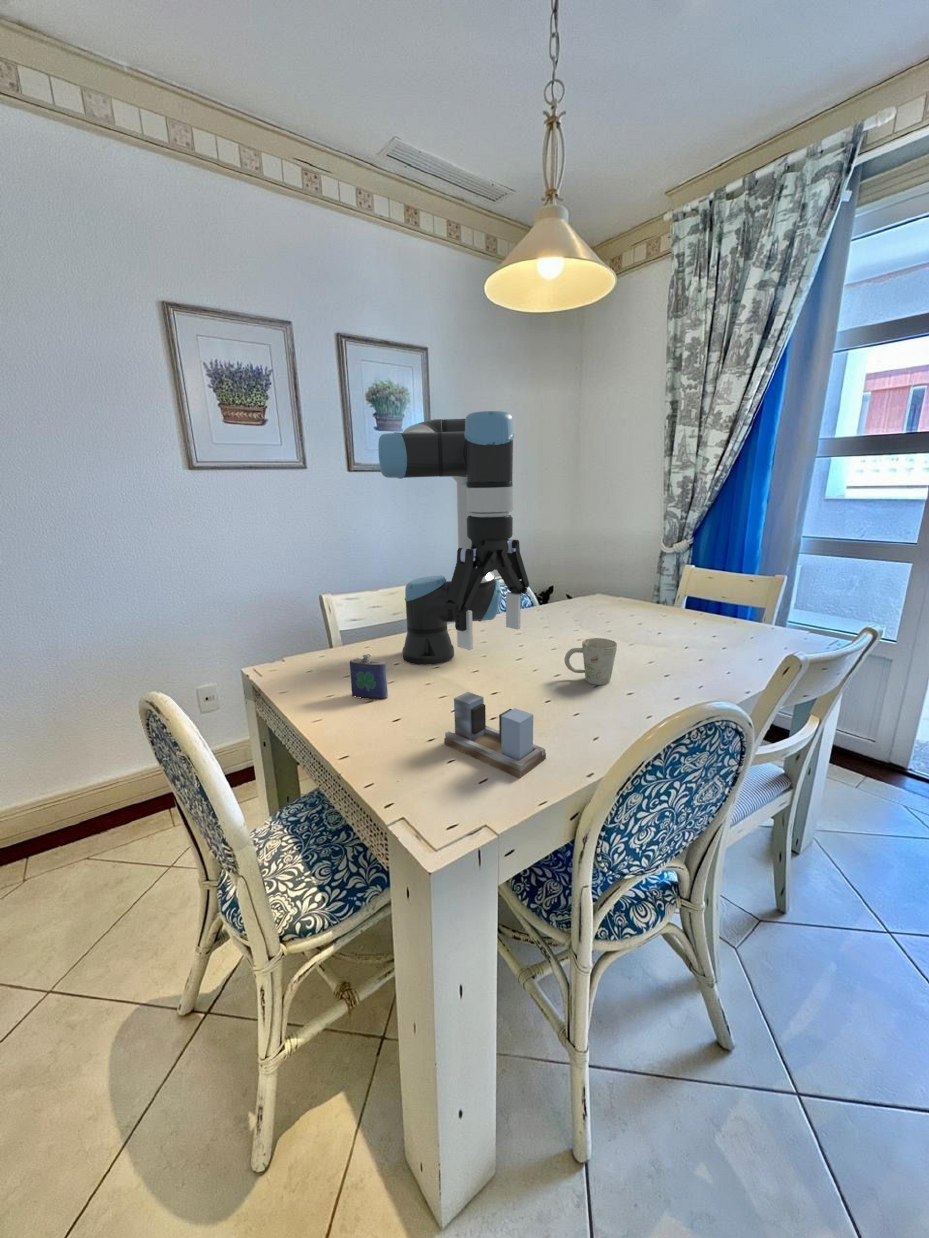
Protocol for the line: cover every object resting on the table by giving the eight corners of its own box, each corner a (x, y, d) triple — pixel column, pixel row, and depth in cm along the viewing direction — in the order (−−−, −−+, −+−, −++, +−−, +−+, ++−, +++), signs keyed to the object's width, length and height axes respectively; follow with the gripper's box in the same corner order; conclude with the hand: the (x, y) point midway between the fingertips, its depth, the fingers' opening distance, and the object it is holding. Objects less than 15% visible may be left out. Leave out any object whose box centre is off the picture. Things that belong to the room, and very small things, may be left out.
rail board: (444, 743, 96) (442, 700, 93) (471, 728, 101) (470, 687, 99) (519, 778, 84) (520, 729, 81) (545, 758, 90) (546, 712, 87)
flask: (389, 696, 118) (386, 653, 115) (384, 701, 115) (381, 658, 112) (355, 692, 121) (351, 651, 118) (349, 697, 118) (345, 655, 115)
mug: (616, 688, 119) (618, 649, 117) (563, 685, 122) (564, 646, 119) (613, 675, 127) (615, 638, 125) (563, 672, 130) (565, 636, 127)
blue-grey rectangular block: (511, 746, 92) (511, 706, 90) (532, 754, 89) (533, 714, 87) (498, 754, 89) (497, 714, 87) (519, 764, 86) (519, 722, 84)
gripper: (515, 508, 92) (514, 617, 98) (418, 519, 74) (424, 652, 80) (550, 509, 87) (546, 624, 93) (455, 522, 69) (459, 663, 75)
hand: (490, 637), depth 86 cm, fingers open, 13 cm apart
